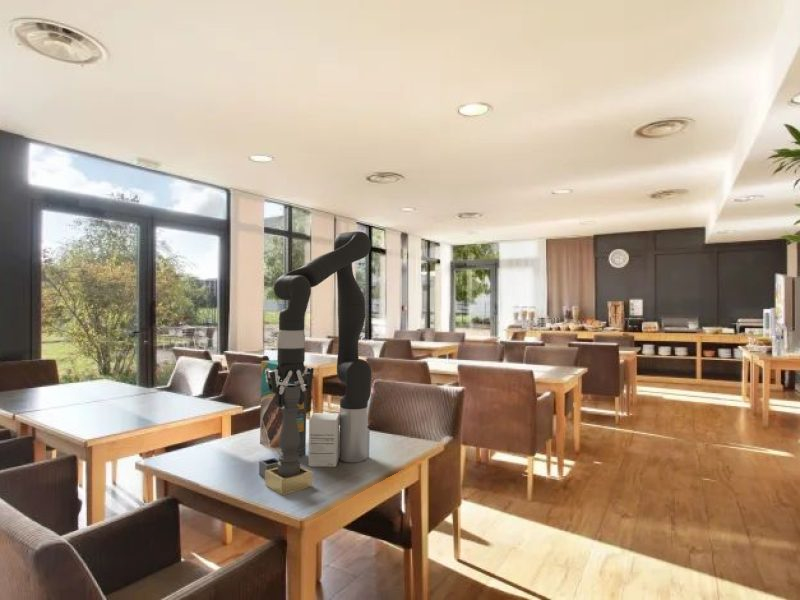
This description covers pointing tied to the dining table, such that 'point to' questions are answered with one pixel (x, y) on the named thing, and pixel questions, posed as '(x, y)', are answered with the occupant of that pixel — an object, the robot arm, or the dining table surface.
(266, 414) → the cake mix box
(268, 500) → the dining table surface
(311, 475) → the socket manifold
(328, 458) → the supplement box
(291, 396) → the candle holder
